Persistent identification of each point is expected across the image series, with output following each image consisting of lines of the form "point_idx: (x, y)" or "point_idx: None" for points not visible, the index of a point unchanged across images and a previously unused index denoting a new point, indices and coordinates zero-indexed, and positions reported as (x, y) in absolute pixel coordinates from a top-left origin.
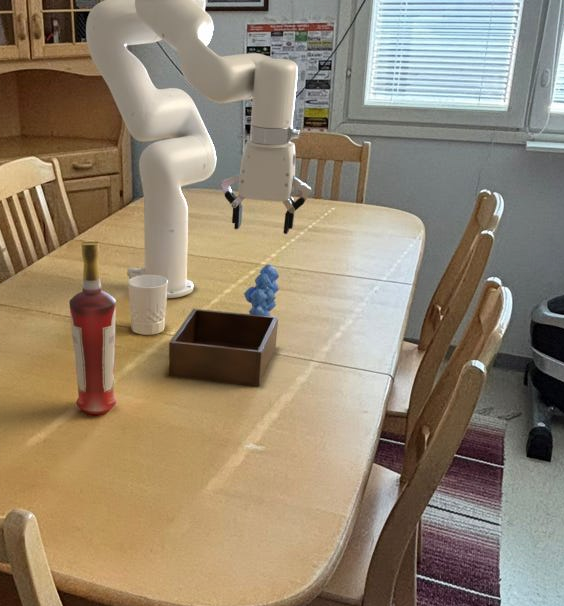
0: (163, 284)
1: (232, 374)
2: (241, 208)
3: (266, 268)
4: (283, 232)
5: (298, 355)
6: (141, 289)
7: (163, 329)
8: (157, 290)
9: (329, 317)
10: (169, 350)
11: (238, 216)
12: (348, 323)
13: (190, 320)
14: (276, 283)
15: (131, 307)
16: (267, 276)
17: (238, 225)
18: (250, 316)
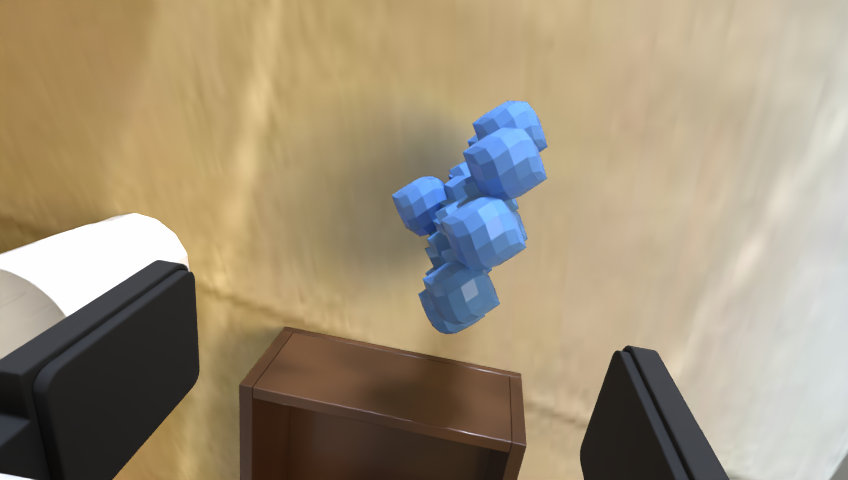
0: (71, 289)
1: None
2: (72, 406)
3: (473, 264)
4: (580, 457)
5: (584, 408)
6: None
7: (188, 269)
8: None
9: (759, 86)
10: None
11: (126, 459)
12: (824, 145)
13: (254, 451)
14: (535, 134)
15: (51, 322)
16: (481, 308)
17: (184, 383)
18: (432, 434)
